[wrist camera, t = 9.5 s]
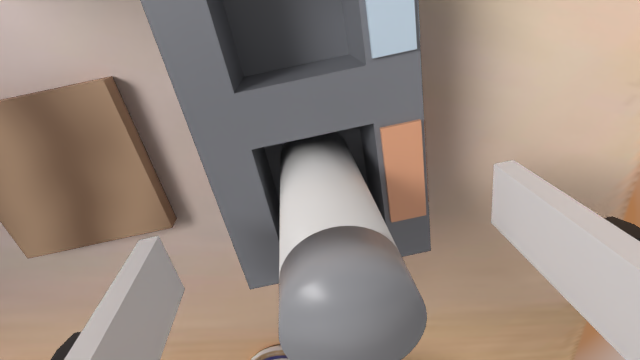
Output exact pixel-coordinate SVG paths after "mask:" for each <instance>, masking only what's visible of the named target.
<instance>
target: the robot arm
mask: <svg viewBox="0 0 640 360" xmlns="http://www.w3.org/2000/svg"><path fill="white" fill-rule="evenodd" d="M491 223H492V224H493V225H494V226H495V227H496V228H497V229H498V230H499V231H500V232H501V233H502V234H503V236H504V237H505V238H506V239H507V240H508V241H509V242H510V243H511V244H512V245H513V246H514V247H515V248H516V249H517V250H518V251H519V252H520V253H521V254H522V255H523V256H524V257H525V258H526V259H527V260H528V261H529V262H530V263H531V264H532V265H533V266H534V267H535V268H536V269H537V270H538V271H539V272H540V273H541V274H542V275H543V276H544V277H545V278H546V279H547V280H548V281H549V282H550V283H551V284H552V285H553V286H554V288H555V289H556V290H557V291H558V292H559V293H560V294H561V295H562V296H563V297H564V298H565V299H566V300H567V301H568V302H569V303H570V304H571V305H572V306H573V307H574V308H575V309H576V310H577V311H578V312H579V313H580V314H581V315H582V316H583V317H584V318H585V319H586V320H587V321H588V322H589V323H590V324H591V325H592V326H593V327H594V328H595V329H596V330H597V331H598V332H599V333H600V334H601V335H602V336H603V337H604V338H605V339H606V341H608V343H609V344H611V346H612V347H613V348H615V350H616V351H617V352H618V353H619V354H620V355H621V356H622V357H623V358H624V359H625V360H640V228H639V227H637V226H636V225H634V224H631V223H629V222H626V221H623V220H620V219H618V218H615V217H607V218H603V217H601V216H600V215H598V214H596V213H595V212H593V211H592V210H590V209H589V208H587V207H586V206H584V205H583V204H581V203H579V202H578V201H576V200H575V199H573V198H572V197H570V196H569V195H567V194H566V193H564V192H562V191H561V190H559V189H558V188H556V187H555V186H553V185H552V184H550V183H549V182H547V181H545V180H544V179H542V178H541V177H539V176H538V175H536V174H535V173H533V172H532V171H530V170H528V169H527V168H525V167H524V166H522V165H521V164H519V163H518V162H516V161H515V160H510V161H506V162H501V163H496V164H494V174H493V195H492V217H491ZM184 290H185V288H184V286H183V284H182V282H181V280H180V278H179V276H178V274H177V272H176V270H175V268H174V266H173V264H172V262H171V260H170V258H169V256H168V254H167V252H166V250H165V248H164V246H163V244H162V242H161V240H160V238H159V236H156V237H151V238H146V239H142V240H139V241H138V242H137V244H136V246H135V247H134V249H133V250H132V252H131V254H130V255H129V257H128V258H127V260H126V262H125V263H124V265H123V266H122V268H121V270H120V271H119V273H118V274H117V276H116V278H115V279H114V281H113V282H112V284H111V286H110V287H109V289H108V290H107V292H106V294H105V295H104V297H103V298H102V300H101V302H100V303H99V305H98V306H97V308H96V310H95V311H94V313H93V314H92V316H91V317H90V319H89V321H88V322H87V324H86V325H85V327H84V329H83V330H82V332H77V333H74V334H73V335H72V336H71V337H70V338H69V339H68V340H67V341H66V342H65V343H64V344H63V345H62V346H61V347H60V348H59V349H58V350H57V351H56V353H55V354H54V356H53V357H52V359H51V360H160V358H161V355H162V352H163V349H164V347H165V344H166V341H167V338H168V335H169V332H170V330H171V327H172V324H173V321H174V318H175V315H176V312H177V310H178V307H179V304H180V301H181V298H182V295H183V293H184Z"/></svg>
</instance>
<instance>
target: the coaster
mask: <svg viewBox="0 0 640 360" xmlns="http://www.w3.org/2000/svg"><path fill="white" fill-rule="evenodd" d="M175 221H176V216H175V214H174V212H173V210H172V208H171V205H170V203H169V201H168V199H167V196H166V194H165V192H164V190H163V188H162V185H161V183H160V181H159V179H158V177H157V174H156V172H155V170H154V168H153V166H152V163H151V161H150V159H149V157H148V155H147V152H146V150H145V148H144V146H143V144H142V141H141V139H140V137H139V135H138V132H137V130H136V128H135V126H134V124H133V121H132V119H131V117H130V115H129V113H128V110H127V108H126V106H125V104H124V102H123V99H122V97H121V95H120V93H119V91H118V88H117V86H116V84H115V82H114V80H113V77H112V76H111V77H106V78H101V79H97V80H92V81H87V82H82V83H78V84H73V85H68V86H64V87H59V88H54V89H50V90H45V91H40V92H35V93H31V94H26V95H21V96H17V97H12V98H7V99H3V100H0V222H1V223H2V224H3V226H4V227H5V228H6V230H7V231H8V233H9V234H10V235H11V237H12V238H13V239H14V241H15V242H16V243H17V245H18V246H19V247H20V249H21V250H22V252H23V253H24V254H25V256H26V257H27V258H33V257H38V256H42V255H47V254H52V253H56V252H61V251H66V250H70V249H75V248H80V247H84V246H89V245H94V244H98V243H103V242H108V241H112V240H117V239H122V238H126V237H131V236H136V235H140V234H145V233H150V232H154V231H159V230H164V229H168V228H172V227H173V225H174V223H175Z"/></svg>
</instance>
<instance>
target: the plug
mask: <svg viewBox="0 0 640 360" xmlns="http://www.w3.org/2000/svg"><path fill="white" fill-rule="evenodd" d="M426 321H427V312H426V307H425V304H424V301H423V299H422V297H421V295H420V293H419V291H418V289H417V287H416V285H415V283H414V281H413V279H412V277H411V275H410V273H409V271H408V269H407V267H406V265H405V262H404V260H403V258H402V256H401V254H400V252H399V250H398V248H397V246H396V244H395V242H394V240H393V238H392V236H391V234H390V232H389V230H388V228H387V226H386V224H385V222H384V220H383V218H382V216H381V213H380V211H379V209H378V207H377V205H376V203H375V201H374V199H373V197H372V195H371V193H370V191H369V189H368V187H367V185H366V183H365V181H364V179H363V177H362V175H361V173H360V171H359V169H358V166H357V164H356V162H355V160H354V158H353V156H352V154H351V152H350V150H349V148H348V146H347V144H346V142H345V140H344V139H343V138H342V136H341V135H340V134H338V133H337V132H332V133H327V134H323V135H318V136H313V137H309V138H304V139H299V140H294V141H290V142H285V143H284V145H283V147H282V150H281V155H280V240H279V341H280V345H281V348H282V350H283V352H284V353H285V355H286V356H287V358H288V359H289V360H401V359H403V358H404V357H405V356H406V355H407V354H409V353H410V352H411V351H412V349H413V348H414V347H415V346H416V345H417V343H418V342H419V340H420V339H421V337H422V335H423V332H424V330H425V327H426Z"/></svg>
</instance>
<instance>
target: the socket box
mask: <svg viewBox="0 0 640 360" xmlns="http://www.w3.org/2000/svg"><path fill="white" fill-rule="evenodd" d="M140 1H141V3H142V6H143V9H144V11H145V14H146V16H147V19H148V22H149V24H150V27H151V30H152V32H153V35H154V38H155V40H156V43H157V45H158V48H159V51H160V53H161V56H162V59H163V61H164V64H165V67H166V69H167V72H168V74H169V77H170V80H171V82H172V85H173V88H174V90H175V93H176V96H177V98H178V101H179V103H180V106H181V109H182V111H183V114H184V117H185V119H186V122H187V125H188V127H189V130H190V132H191V135H192V138H193V140H194V143H195V146H196V148H197V151H198V154H199V156H200V159H201V161H202V164H203V167H204V169H205V172H206V175H207V177H208V180H209V183H210V185H211V188H212V191H213V193H214V196H215V198H216V201H217V204H218V206H219V209H220V212H221V214H222V217H223V220H224V222H225V225H226V227H227V230H228V233H229V235H230V238H231V241H232V243H233V246H234V249H235V251H236V254H237V256H238V259H239V262H240V264H241V267H242V270H243V272H244V275H245V278H246V280H247V283H248V285H249V288H250V289H254V288H259V287H264V286H268V285H273V284H278V283H279V240H280V155H281V150H282V147H283V145H284V143H285V142H290V141H294V140H299V139H304V138H309V137H313V136H318V135H323V134H327V133H332V132H337V133H338V134H340V135H341V136H342V138H343V139H344V140H345V142H346V144H347V146H348V148H349V150H350V152H351V154H352V156H353V158H354V160H355V162H356V164H357V166H358V169H359V171H360V173H361V175H362V177H363V179H364V181H365V183H366V185H367V187H368V189H369V191H370V193H371V195H372V197H373V199H374V201H375V203H376V205H377V207H378V209H379V211H380V213H381V216H382V218H383V220H384V222H385V224H386V226H387V228H388V230H389V232H390V234H391V236H392V238H393V240H394V242H395V244H396V246H397V248H398V250H399V252H400V254H401V256H402V257H403V256H408V255H413V254H417V253H422V252H427V251H431V244H430V225H429V206H428V202H429V197H428V178H427V159H426V139H425V121H424V110H423V91H422V72H421V53H420V24H419V4H418V0H140Z"/></svg>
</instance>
